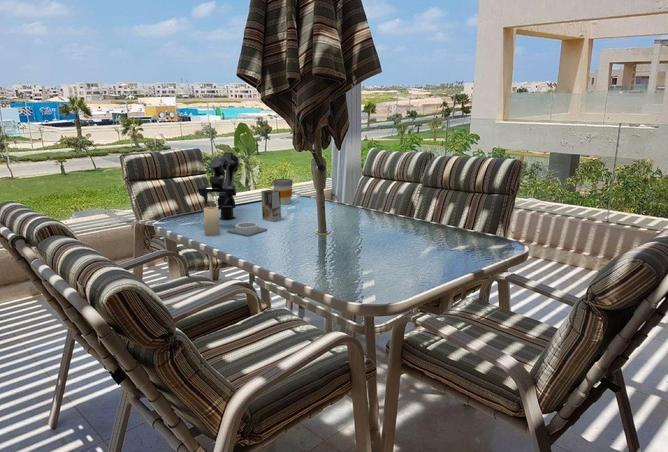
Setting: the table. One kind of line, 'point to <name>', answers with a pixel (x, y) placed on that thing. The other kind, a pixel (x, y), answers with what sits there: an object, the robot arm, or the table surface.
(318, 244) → the table surface
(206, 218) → the kraft roll
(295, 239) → the table surface
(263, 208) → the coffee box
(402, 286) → the table surface
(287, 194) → the reusable coffee cup
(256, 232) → the ring holder
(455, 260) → the table surface
